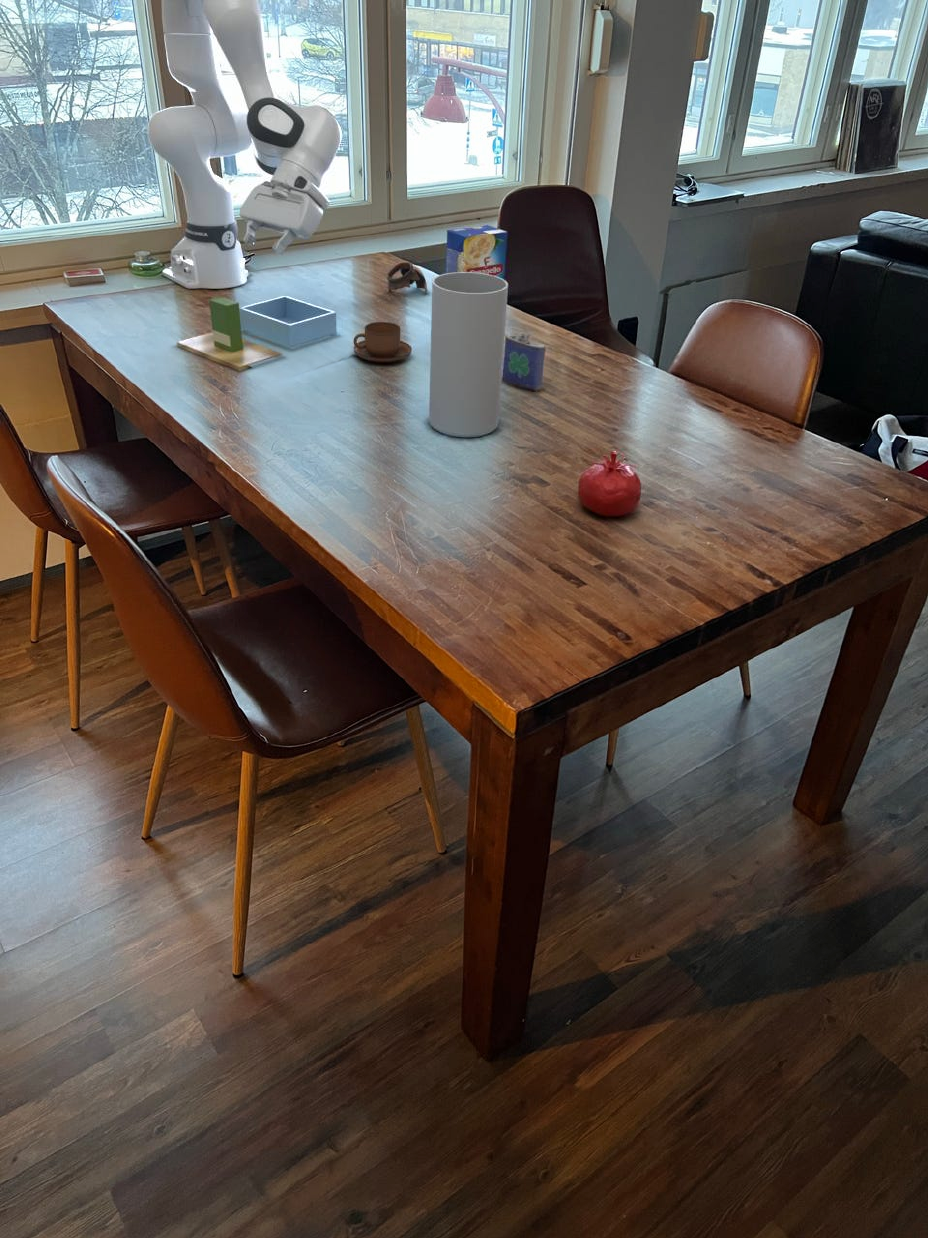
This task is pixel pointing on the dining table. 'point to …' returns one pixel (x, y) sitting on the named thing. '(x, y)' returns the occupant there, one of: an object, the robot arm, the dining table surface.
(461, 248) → the blue food box
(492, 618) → the dining table surface
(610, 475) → the pomegranate
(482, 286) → the cylinder vase
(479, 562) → the dining table surface
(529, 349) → the flask
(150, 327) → the dining table surface
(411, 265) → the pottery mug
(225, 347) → the block
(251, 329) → the basin
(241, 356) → the board
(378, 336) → the cup and saucer
